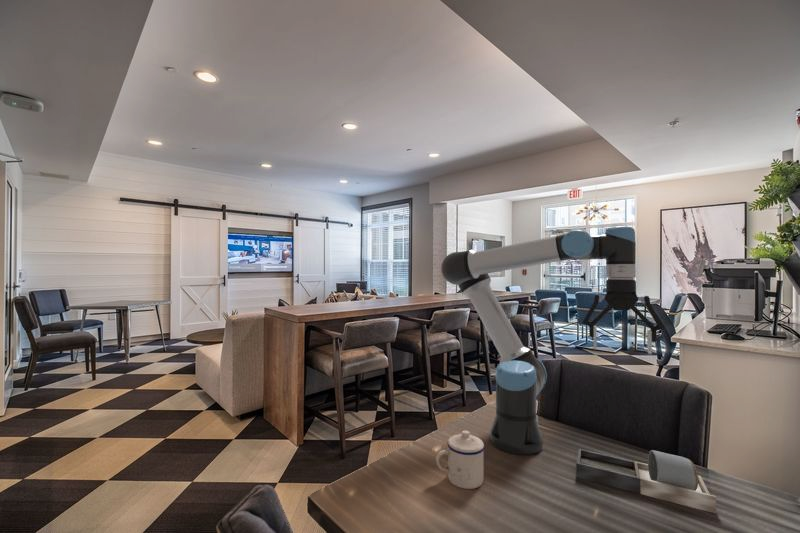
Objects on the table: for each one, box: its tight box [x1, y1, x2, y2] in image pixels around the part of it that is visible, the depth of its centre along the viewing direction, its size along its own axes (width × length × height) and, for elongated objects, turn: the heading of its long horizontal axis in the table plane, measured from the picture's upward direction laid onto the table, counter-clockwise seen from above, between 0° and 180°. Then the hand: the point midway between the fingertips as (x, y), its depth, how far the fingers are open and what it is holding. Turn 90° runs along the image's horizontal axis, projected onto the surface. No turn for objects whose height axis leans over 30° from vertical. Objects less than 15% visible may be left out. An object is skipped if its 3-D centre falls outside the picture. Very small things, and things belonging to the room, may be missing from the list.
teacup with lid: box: [435, 430, 485, 490], centre depth 87 cm, size 12×9×12 cm
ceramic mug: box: [647, 449, 699, 491], centre depth 84 cm, size 11×8×8 cm
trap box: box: [575, 448, 717, 514], centre depth 87 cm, size 27×13×4 cm, turn 60°
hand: (621, 350), depth 103 cm, fingers open, 13 cm apart
